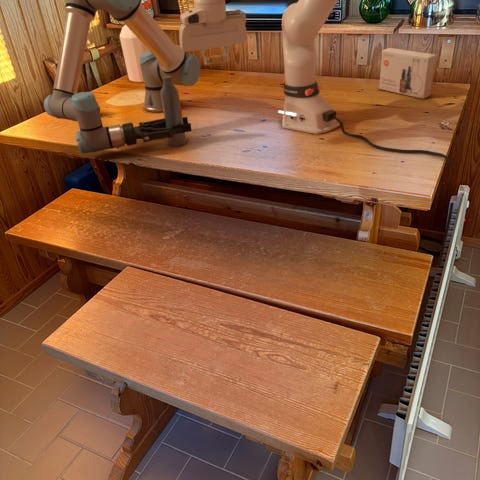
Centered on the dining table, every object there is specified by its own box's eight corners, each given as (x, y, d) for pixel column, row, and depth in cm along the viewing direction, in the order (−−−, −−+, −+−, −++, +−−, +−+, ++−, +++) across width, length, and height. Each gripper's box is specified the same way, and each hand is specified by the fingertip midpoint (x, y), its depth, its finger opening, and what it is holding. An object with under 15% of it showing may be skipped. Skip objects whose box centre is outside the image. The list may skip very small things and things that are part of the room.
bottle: (168, 146, 163) (156, 80, 150) (169, 140, 168) (158, 75, 155) (186, 144, 163) (175, 78, 150) (186, 138, 168) (176, 73, 155)
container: (160, 81, 233) (149, 21, 217) (121, 82, 238) (108, 23, 222) (174, 69, 249) (165, 13, 233) (138, 70, 254) (126, 15, 238)
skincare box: (377, 89, 194) (381, 50, 185) (385, 86, 197) (389, 47, 188) (423, 99, 180) (429, 56, 171) (430, 95, 183) (437, 53, 174)
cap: (224, 62, 140) (223, 57, 139) (211, 64, 139) (210, 59, 138) (221, 59, 143) (220, 54, 142) (208, 61, 142) (207, 56, 142)
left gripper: (124, 135, 169) (186, 125, 173) (127, 155, 154) (195, 143, 157) (119, 116, 165) (183, 105, 169) (122, 134, 149) (192, 122, 153)
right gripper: (242, 7, 138) (245, 55, 146) (174, 16, 134) (181, 65, 142) (248, 10, 133) (251, 60, 141) (178, 19, 129) (185, 70, 137)
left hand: (189, 123), depth 163 cm, fingers closed on bottle, 6 cm apart
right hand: (216, 62), depth 141 cm, fingers closed on cap, 4 cm apart
